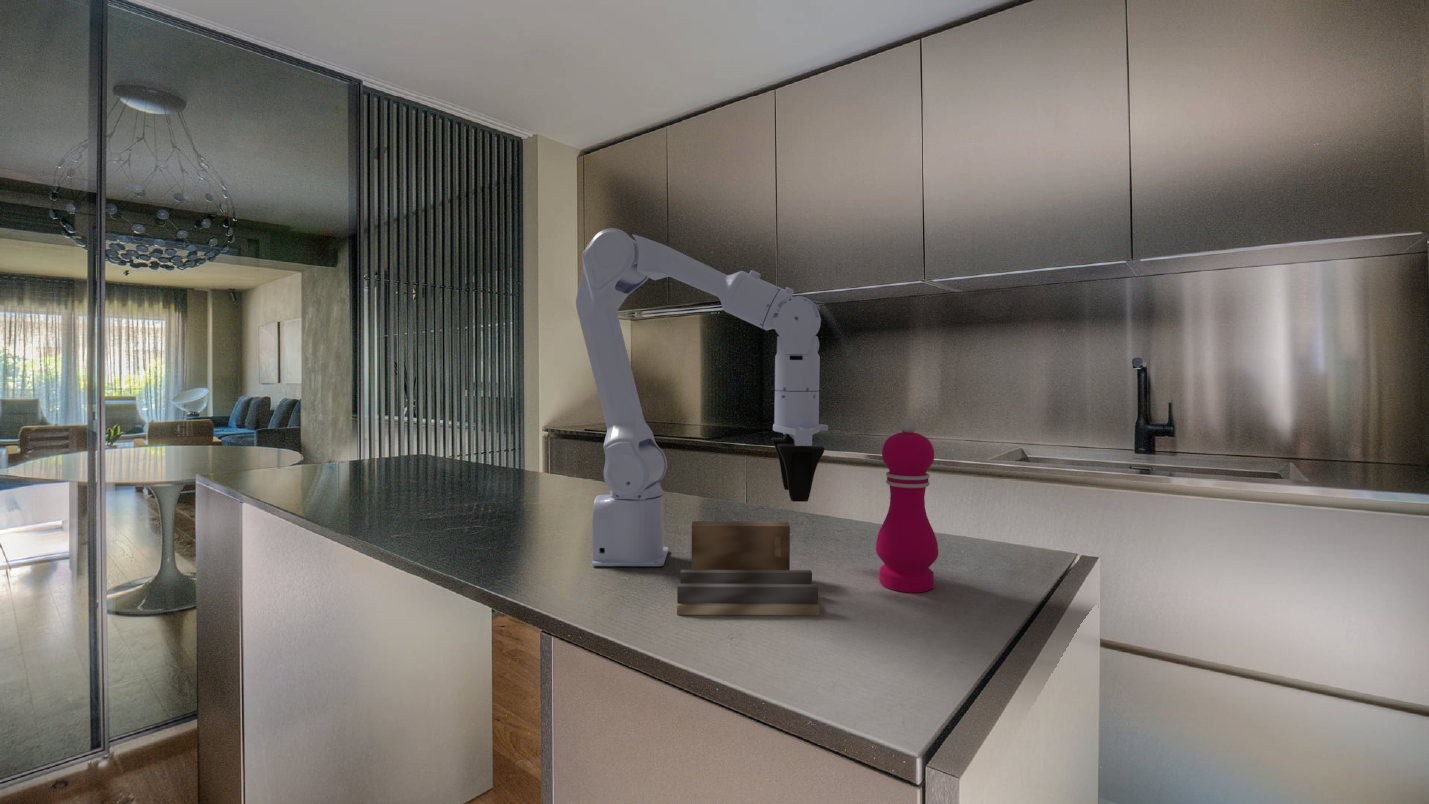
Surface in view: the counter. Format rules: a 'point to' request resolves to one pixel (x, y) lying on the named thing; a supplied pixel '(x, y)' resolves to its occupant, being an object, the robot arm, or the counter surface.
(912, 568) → the pepper mill
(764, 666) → the counter surface
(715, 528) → the door panel
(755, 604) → the track board
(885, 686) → the counter surface
